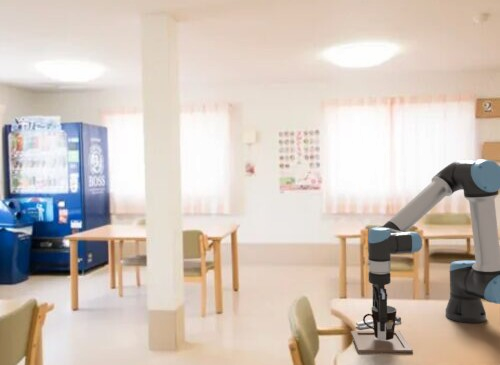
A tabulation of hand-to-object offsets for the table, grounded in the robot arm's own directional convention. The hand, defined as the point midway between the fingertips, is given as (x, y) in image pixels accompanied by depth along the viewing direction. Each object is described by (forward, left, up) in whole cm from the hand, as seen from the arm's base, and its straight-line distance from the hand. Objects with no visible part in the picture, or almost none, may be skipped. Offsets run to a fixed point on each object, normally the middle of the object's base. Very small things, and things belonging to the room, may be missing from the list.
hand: (379, 335), depth 170 cm
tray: (0, 0, -3) cm, 3 cm away
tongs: (-3, -19, -3) cm, 19 cm away
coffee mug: (0, 0, 0) cm, 0 cm away
